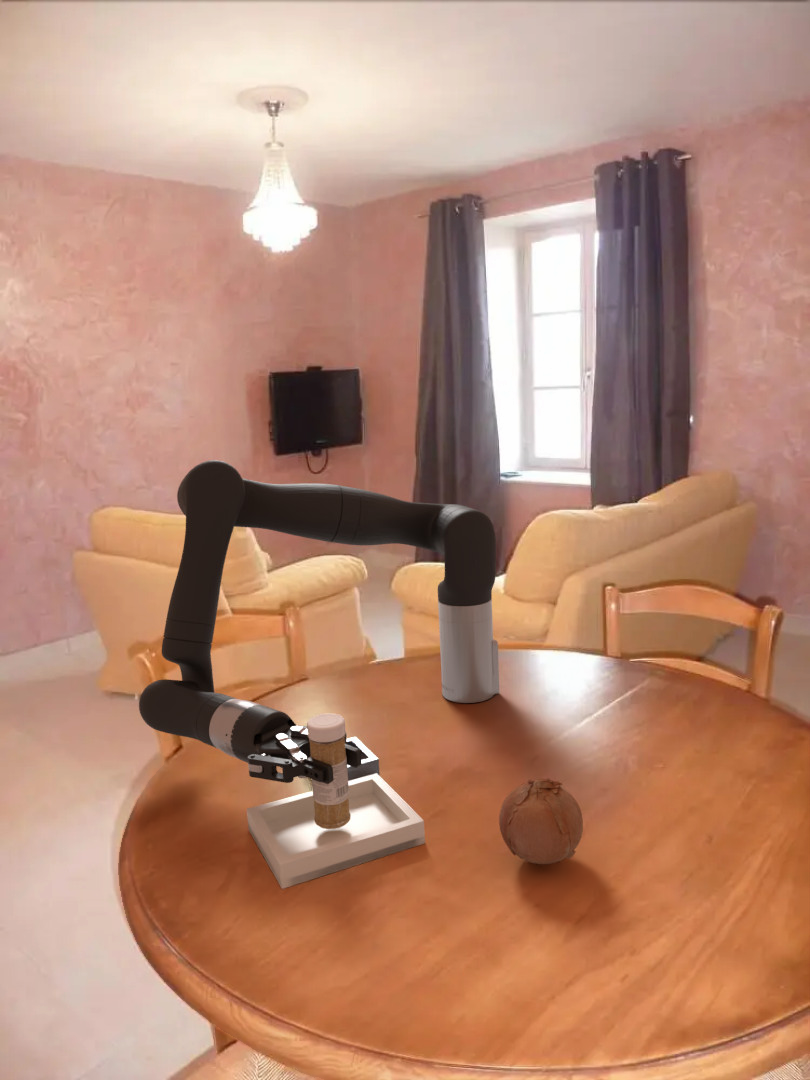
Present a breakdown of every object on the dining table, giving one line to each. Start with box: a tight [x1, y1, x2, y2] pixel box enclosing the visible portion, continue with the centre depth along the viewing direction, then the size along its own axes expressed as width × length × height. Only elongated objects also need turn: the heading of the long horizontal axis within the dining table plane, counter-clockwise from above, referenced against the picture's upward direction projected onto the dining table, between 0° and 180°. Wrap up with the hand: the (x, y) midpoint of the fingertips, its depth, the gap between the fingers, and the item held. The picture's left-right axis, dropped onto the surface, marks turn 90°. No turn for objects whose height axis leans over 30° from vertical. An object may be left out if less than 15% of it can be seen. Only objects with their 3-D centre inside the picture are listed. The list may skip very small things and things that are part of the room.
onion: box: [498, 778, 584, 866], centre depth 94 cm, size 10×9×10 cm
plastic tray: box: [246, 773, 426, 890], centre depth 102 cm, size 18×14×3 cm
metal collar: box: [346, 736, 380, 781], centre depth 119 cm, size 9×9×2 cm
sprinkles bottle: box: [306, 712, 351, 829], centre depth 101 cm, size 5×5×14 cm
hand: (345, 766), depth 99 cm, fingers closed on sprinkles bottle, 4 cm apart
